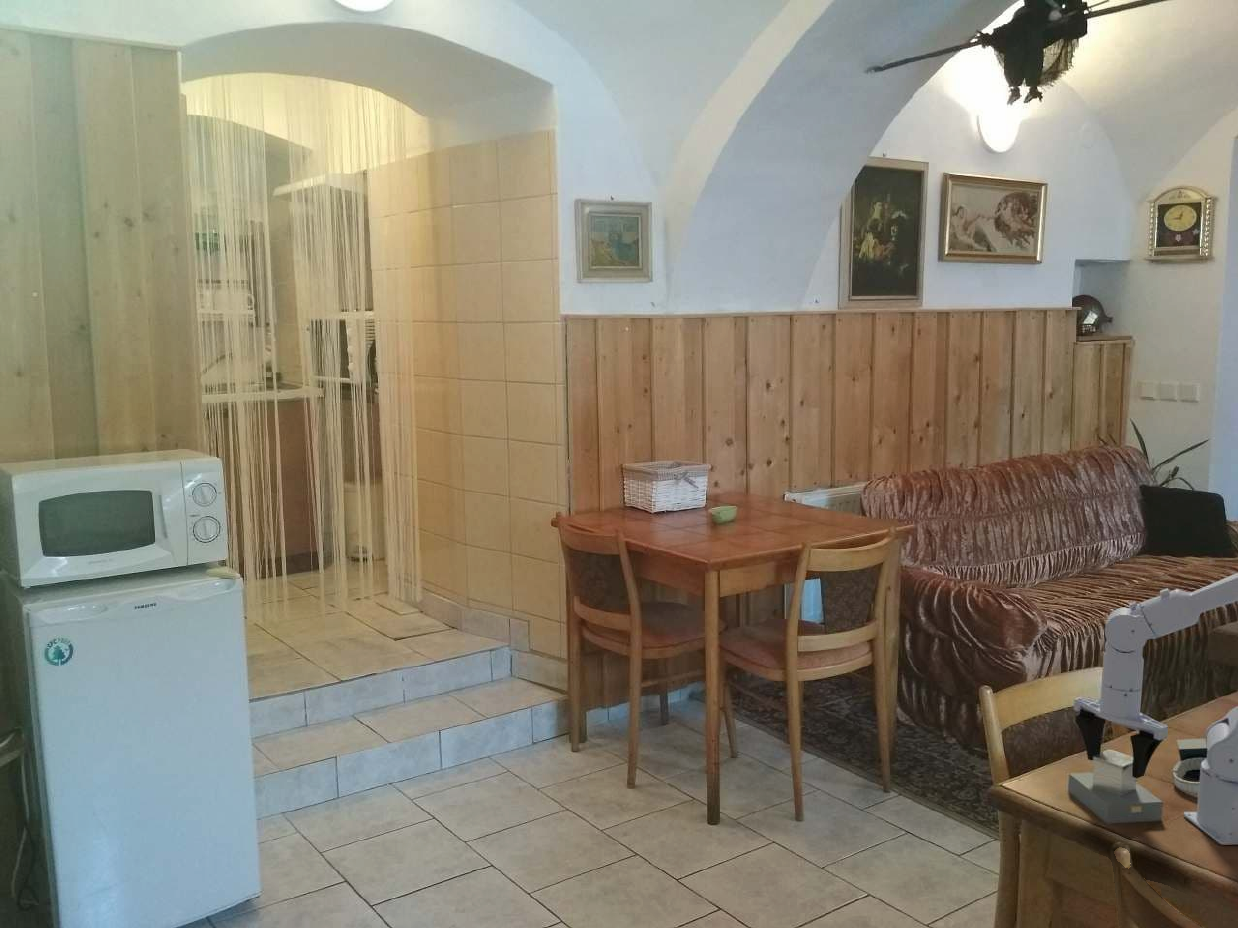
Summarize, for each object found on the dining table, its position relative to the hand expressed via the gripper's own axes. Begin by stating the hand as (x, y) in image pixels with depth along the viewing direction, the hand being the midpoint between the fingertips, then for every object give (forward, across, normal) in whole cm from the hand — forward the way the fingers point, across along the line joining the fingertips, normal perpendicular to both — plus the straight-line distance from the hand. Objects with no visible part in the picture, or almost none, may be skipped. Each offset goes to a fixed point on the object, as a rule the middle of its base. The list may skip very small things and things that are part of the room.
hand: (1115, 767), depth 164 cm
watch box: (+7, 0, 0) cm, 7 cm away
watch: (+3, 0, -24) cm, 24 cm away
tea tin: (+3, 0, 0) cm, 3 cm away
